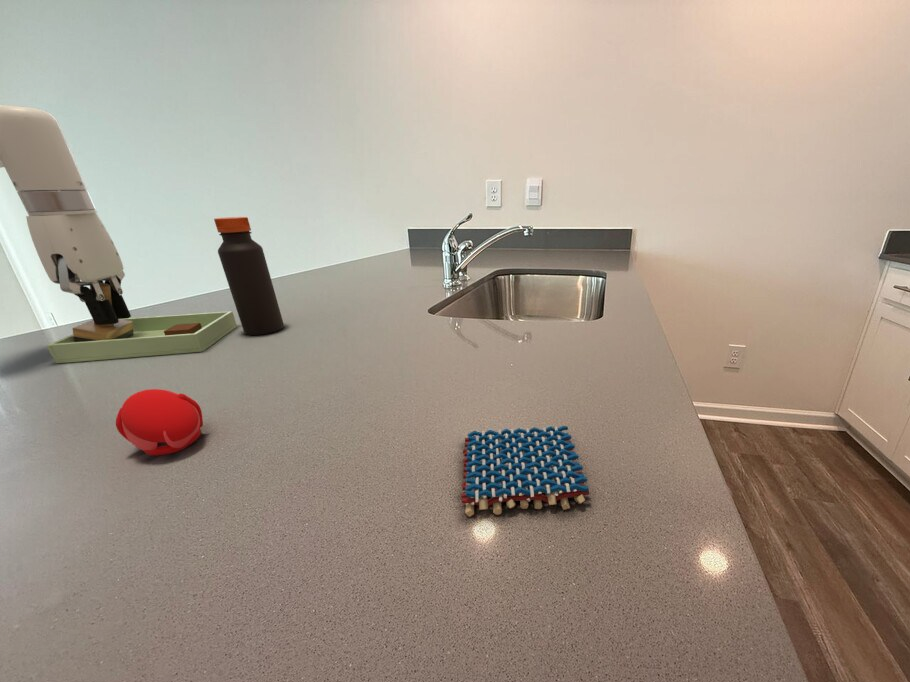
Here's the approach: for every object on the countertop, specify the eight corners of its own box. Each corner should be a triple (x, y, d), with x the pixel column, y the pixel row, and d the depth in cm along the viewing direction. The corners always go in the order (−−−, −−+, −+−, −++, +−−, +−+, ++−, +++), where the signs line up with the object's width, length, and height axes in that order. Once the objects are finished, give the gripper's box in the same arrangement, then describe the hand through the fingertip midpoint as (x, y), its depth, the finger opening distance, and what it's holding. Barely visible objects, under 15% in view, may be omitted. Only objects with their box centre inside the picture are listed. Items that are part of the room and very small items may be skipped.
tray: (55, 363, 65) (45, 345, 63) (116, 335, 77) (108, 319, 76) (202, 351, 68) (195, 334, 67) (237, 326, 81) (232, 311, 79)
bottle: (272, 335, 75) (238, 218, 66) (236, 336, 75) (197, 219, 66) (291, 324, 81) (261, 216, 72) (257, 325, 81) (224, 217, 72)
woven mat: (464, 444, 42) (462, 427, 41) (566, 438, 42) (567, 421, 41) (459, 518, 32) (458, 499, 31) (591, 509, 33) (593, 489, 32)
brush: (107, 348, 68) (101, 292, 65) (74, 343, 67) (66, 285, 63) (133, 335, 75) (130, 283, 71) (103, 330, 73) (98, 277, 70)
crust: (167, 342, 71) (163, 331, 70) (180, 334, 75) (175, 324, 74) (193, 340, 72) (189, 329, 71) (204, 333, 75) (200, 322, 74)
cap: (226, 435, 44) (206, 385, 42) (167, 467, 39) (140, 413, 37) (179, 422, 47) (158, 375, 44) (118, 450, 42) (90, 399, 39)
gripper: (72, 203, 68) (120, 310, 76) (-21, 207, 54) (50, 338, 62) (122, 202, 70) (165, 307, 78) (44, 205, 55) (106, 334, 63)
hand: (113, 320), depth 70 cm, fingers closed on brush, 2 cm apart
